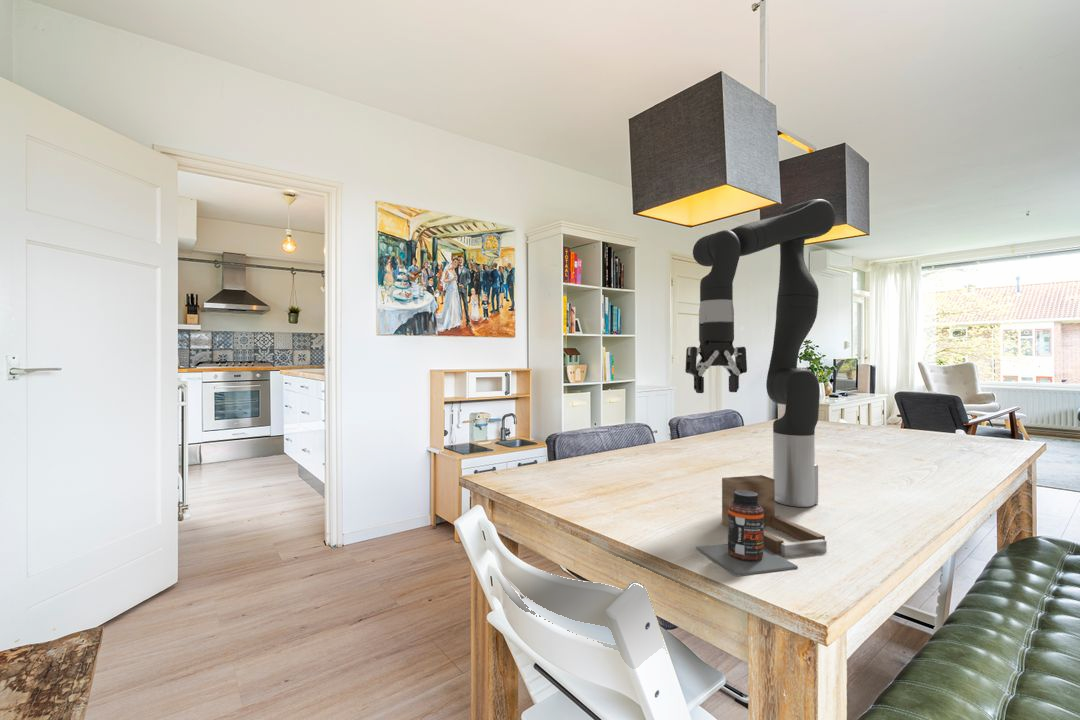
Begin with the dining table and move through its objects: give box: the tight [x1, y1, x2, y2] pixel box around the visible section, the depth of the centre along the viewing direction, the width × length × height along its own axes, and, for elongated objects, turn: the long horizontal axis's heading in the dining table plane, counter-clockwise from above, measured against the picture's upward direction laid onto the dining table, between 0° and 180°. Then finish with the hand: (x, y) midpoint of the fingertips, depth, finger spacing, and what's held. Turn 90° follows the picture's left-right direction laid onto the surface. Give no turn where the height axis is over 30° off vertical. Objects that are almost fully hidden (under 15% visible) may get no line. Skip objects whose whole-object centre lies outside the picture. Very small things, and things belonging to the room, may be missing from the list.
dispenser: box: [721, 474, 827, 558], centre depth 99 cm, size 11×18×10 cm, turn 14°
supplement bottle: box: [727, 490, 765, 561], centre depth 88 cm, size 6×6×11 cm
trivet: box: [695, 542, 799, 577], centre depth 88 cm, size 12×12×1 cm
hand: (716, 392), depth 112 cm, fingers open, 8 cm apart
